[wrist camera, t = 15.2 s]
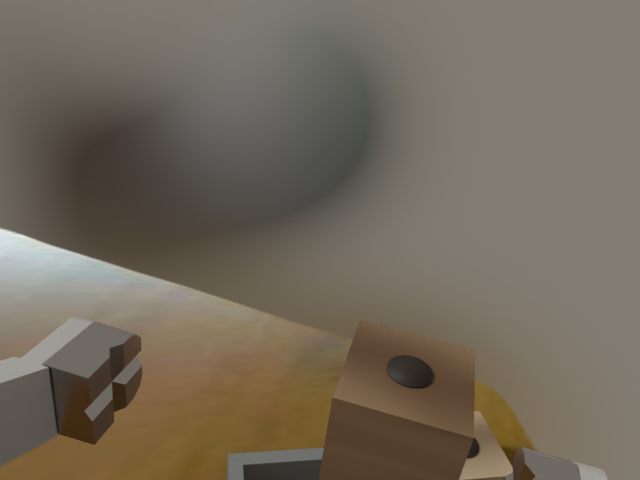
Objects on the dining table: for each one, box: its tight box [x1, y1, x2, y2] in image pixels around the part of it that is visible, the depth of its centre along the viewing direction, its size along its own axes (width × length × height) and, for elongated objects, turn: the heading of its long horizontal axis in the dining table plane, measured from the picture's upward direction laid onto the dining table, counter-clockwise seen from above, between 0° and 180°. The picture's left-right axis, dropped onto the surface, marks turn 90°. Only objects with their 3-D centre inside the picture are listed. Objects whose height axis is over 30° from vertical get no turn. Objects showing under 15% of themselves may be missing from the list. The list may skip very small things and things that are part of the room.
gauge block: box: [459, 411, 513, 480], centre depth 33 cm, size 6×7×3 cm
